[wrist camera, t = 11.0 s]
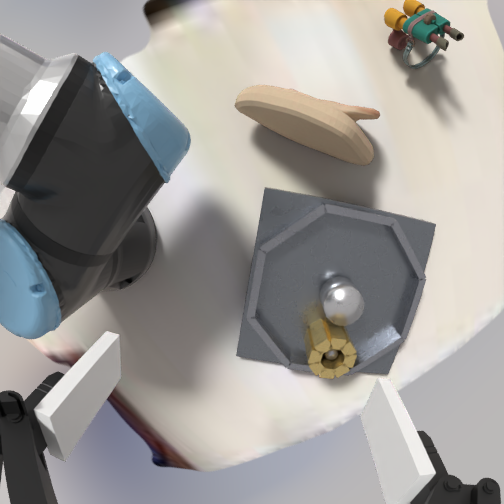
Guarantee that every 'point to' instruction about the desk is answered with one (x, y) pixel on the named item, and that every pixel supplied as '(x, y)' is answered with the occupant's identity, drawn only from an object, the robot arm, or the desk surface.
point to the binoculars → (418, 29)
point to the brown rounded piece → (310, 121)
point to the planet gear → (323, 340)
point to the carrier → (332, 279)
